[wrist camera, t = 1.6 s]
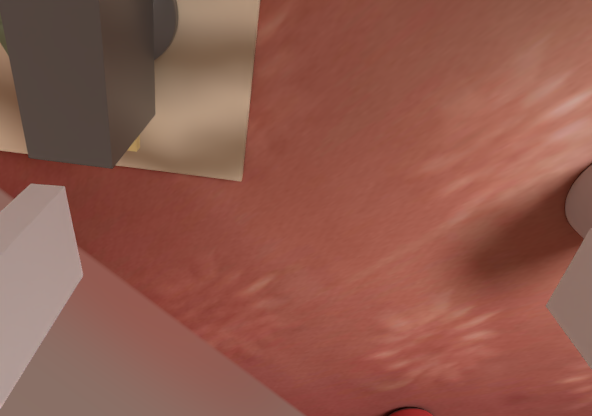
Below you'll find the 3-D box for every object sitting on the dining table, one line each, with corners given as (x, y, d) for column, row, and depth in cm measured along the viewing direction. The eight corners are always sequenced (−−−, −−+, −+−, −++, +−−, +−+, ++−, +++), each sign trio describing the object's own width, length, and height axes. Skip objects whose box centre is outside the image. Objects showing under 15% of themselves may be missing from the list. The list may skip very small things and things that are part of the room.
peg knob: (56, -126, 22) (-71, -166, 14) (179, -102, 23) (122, -128, 15) (86, 138, 30) (14, 206, 22) (177, 150, 30) (139, 220, 23)
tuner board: (-74, -196, 22) (-95, -204, 20) (273, -127, 23) (272, -131, 22) (3, 143, 31) (-8, 150, 30) (243, 174, 33) (241, 182, 32)
